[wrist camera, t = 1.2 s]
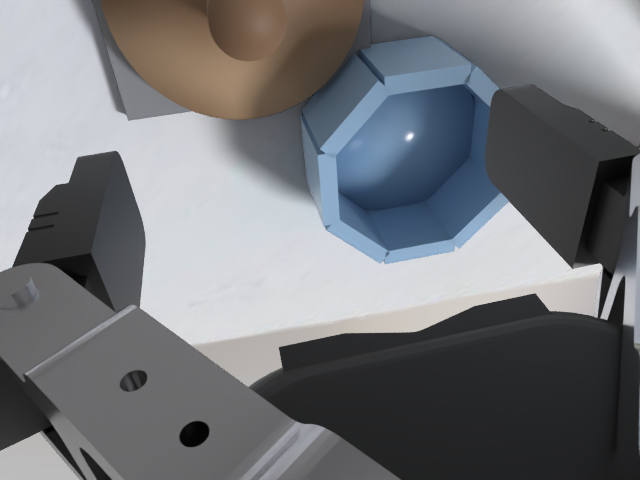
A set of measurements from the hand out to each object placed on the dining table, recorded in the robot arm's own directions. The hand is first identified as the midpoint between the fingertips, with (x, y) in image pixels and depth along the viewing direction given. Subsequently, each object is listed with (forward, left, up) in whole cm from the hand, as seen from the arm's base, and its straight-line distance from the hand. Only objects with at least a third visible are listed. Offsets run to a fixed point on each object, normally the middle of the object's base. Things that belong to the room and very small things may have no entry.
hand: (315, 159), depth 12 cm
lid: (0, 0, -18) cm, 18 cm away
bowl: (+9, +8, -18) cm, 22 cm away
